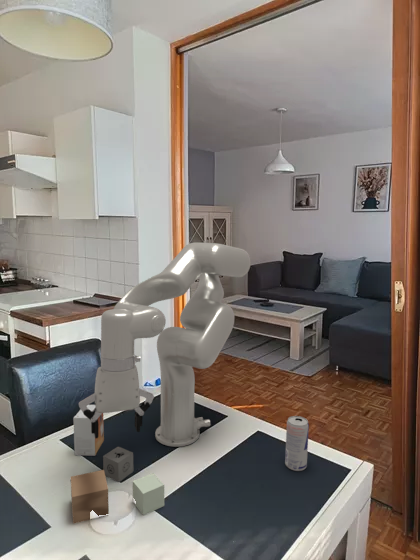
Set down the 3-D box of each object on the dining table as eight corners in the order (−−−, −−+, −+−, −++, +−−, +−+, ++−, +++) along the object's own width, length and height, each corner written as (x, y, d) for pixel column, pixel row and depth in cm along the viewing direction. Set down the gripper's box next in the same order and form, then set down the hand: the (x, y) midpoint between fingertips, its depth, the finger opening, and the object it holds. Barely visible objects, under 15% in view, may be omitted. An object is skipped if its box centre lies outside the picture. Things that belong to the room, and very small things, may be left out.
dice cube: (118, 482, 94) (118, 462, 93) (103, 475, 96) (103, 456, 96) (133, 471, 98) (133, 452, 97) (118, 465, 100) (118, 446, 100)
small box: (95, 456, 104) (94, 418, 102) (74, 455, 104) (72, 417, 103) (104, 440, 112) (103, 404, 110) (84, 439, 112) (83, 403, 110)
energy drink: (308, 462, 102) (310, 418, 101) (304, 474, 98) (306, 427, 96) (287, 457, 105) (289, 413, 103) (282, 468, 100) (284, 423, 98)
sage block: (153, 493, 90) (153, 472, 89) (164, 506, 86) (164, 484, 85) (132, 502, 87) (132, 481, 86) (143, 515, 83) (143, 493, 82)
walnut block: (104, 494, 90) (103, 469, 89) (108, 515, 83) (108, 489, 82) (71, 502, 87) (70, 476, 86) (73, 524, 80) (72, 497, 80)
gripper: (150, 355, 100) (149, 420, 102) (77, 360, 93) (77, 430, 95) (157, 364, 93) (156, 434, 95) (79, 371, 86) (79, 446, 88)
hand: (117, 432), depth 95 cm, fingers open, 9 cm apart
